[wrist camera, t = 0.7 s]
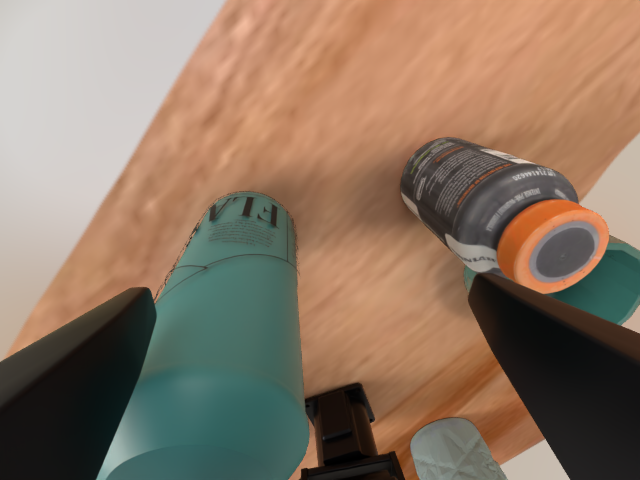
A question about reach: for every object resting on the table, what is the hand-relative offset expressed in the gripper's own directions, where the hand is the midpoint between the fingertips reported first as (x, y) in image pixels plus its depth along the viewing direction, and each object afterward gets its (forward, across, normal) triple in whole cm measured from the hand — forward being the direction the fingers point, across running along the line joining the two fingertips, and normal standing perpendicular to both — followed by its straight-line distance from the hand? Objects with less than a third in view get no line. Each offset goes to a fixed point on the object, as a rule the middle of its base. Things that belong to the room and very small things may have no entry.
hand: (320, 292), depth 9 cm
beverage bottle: (+14, +4, +4) cm, 15 cm away
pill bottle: (+14, -10, +1) cm, 18 cm away
